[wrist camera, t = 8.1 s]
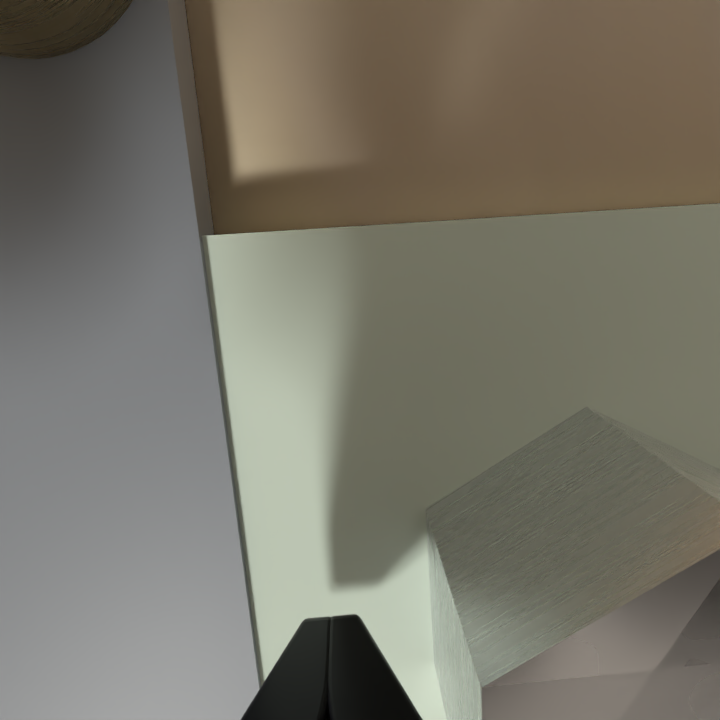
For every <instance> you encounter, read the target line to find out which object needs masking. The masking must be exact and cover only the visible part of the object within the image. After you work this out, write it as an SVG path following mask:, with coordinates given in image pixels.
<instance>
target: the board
mask: <svg viewBox="0 0 720 720" xmlns="http://www.w3.org/2000/svg"><path fill="white" fill-rule="evenodd" d="M207 235H214V229H213V221H212V213H211V205H210V197H209V189H208V181H207V173H206V166H205V158H204V150H203V142H202V134H201V126H200V118H199V110H198V102H197V94H196V86H195V79H194V71H193V63H192V55H191V47H190V39H189V31H188V23H187V15H186V7H185V0H133V1H132V2H131V4H130V6H129V7H128V9H127V10H126V11H125V12H124V14H123V15H122V16H121V17H120V19H119V20H118V21H117V22H116V23H115V24H114V25H113V26H112V27H111V28H110V29H109V30H107V31H106V32H105V33H104V34H103V35H102V36H100V37H99V38H97V39H95V40H94V41H92V42H91V43H89V44H88V45H86V46H83V47H81V48H79V49H77V50H75V51H73V52H69V53H66V54H62V55H59V56H55V57H47V58H39V59H28V58H14V57H8V56H1V55H0V720H241V718H242V716H243V715H244V713H245V712H246V710H247V708H248V707H249V705H250V704H251V702H252V700H253V699H254V697H255V696H256V694H257V692H258V691H259V689H260V688H261V679H260V672H259V664H258V656H257V649H256V641H255V634H254V626H253V619H252V611H251V603H250V596H249V588H248V581H247V573H246V566H245V558H244V550H243V543H242V535H241V528H240V520H239V513H238V505H237V498H236V490H235V482H234V475H233V467H232V460H231V452H230V445H229V437H228V429H227V422H226V414H225V407H224V399H223V392H222V384H221V376H220V369H219V361H218V354H217V346H216V339H215V331H214V323H213V316H212V308H211V301H210V293H209V286H208V278H207V271H206V263H205V255H204V248H203V240H202V236H207Z"/></svg>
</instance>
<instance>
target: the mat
mask: <svg viewBox="0 0 720 720" xmlns="http://www.w3.org/2000/svg"><path fill="white" fill-rule="evenodd" d="M202 240H203V248H204V255H205V263H206V271H207V278H208V286H209V293H210V301H211V308H212V316H213V323H214V331H215V339H216V346H217V354H218V361H219V369H220V376H221V384H222V392H223V399H224V407H225V414H226V422H227V429H228V437H229V445H230V452H231V460H232V467H233V475H234V482H235V490H236V498H237V505H238V513H239V520H240V528H241V535H242V543H243V550H244V558H245V566H246V573H247V581H248V588H249V596H250V603H251V611H252V619H253V626H254V634H255V641H256V649H257V656H258V664H259V672H260V679H261V686H262V685H263V683H264V681H265V680H266V678H267V677H268V675H269V673H270V672H271V670H272V669H273V667H274V665H275V664H276V662H277V661H278V659H279V657H280V656H281V654H282V653H283V651H284V649H285V648H286V646H287V645H288V643H289V641H290V640H291V638H292V637H293V635H294V634H295V632H296V630H297V629H298V627H299V626H300V624H301V622H302V621H303V620H304V619H306V618H314V617H326V616H330V617H332V616H338V615H349V614H357V615H358V616H359V617H360V618H361V619H362V621H363V622H364V624H365V626H366V627H367V629H368V631H369V632H370V634H371V635H372V637H373V639H374V640H375V642H376V644H377V645H378V647H379V649H380V650H381V652H382V654H383V655H384V657H385V659H386V660H387V662H388V663H389V665H390V667H391V668H392V670H393V672H394V673H395V675H396V677H397V678H398V680H399V682H400V683H401V685H402V687H403V688H404V690H405V691H406V693H407V695H408V696H409V698H410V700H411V701H412V703H413V705H414V706H415V708H416V710H417V711H418V713H419V715H420V716H421V718H422V719H423V720H447V719H446V714H445V710H444V705H443V701H442V696H441V692H440V687H439V682H438V678H437V673H436V669H435V664H434V654H433V636H432V618H431V600H430V582H429V565H428V547H427V529H426V511H425V509H426V508H427V507H429V506H430V505H432V504H434V503H435V502H437V501H438V500H440V499H441V498H443V497H445V496H446V495H448V494H449V493H451V492H452V491H454V490H456V489H457V488H459V487H460V486H462V485H464V484H465V483H467V482H468V481H470V480H471V479H473V478H475V477H476V476H478V475H479V474H481V473H482V472H484V471H486V470H487V469H489V468H490V467H492V466H494V465H495V464H497V463H498V462H500V461H501V460H503V459H505V458H506V457H508V456H509V455H511V454H512V453H514V452H516V451H517V450H519V449H520V448H522V447H523V446H525V445H527V444H528V443H530V442H531V441H533V440H535V439H536V438H538V437H539V436H541V435H542V434H544V433H546V432H547V431H549V430H550V429H552V428H553V427H555V426H557V425H558V424H560V423H561V422H563V421H564V420H566V419H568V418H569V417H571V416H572V415H574V414H576V413H577V412H579V411H580V410H582V409H583V408H585V407H588V408H590V409H592V410H595V411H597V412H599V413H601V414H603V415H605V416H607V417H610V418H612V419H614V420H616V421H618V422H620V423H622V424H625V425H627V426H629V427H631V428H633V429H635V430H637V431H640V432H642V433H644V434H646V435H648V436H650V437H652V438H654V439H657V440H659V441H661V442H663V443H665V444H667V445H669V446H672V447H674V448H676V449H678V450H680V451H682V452H684V453H687V454H689V455H691V456H693V457H695V458H697V459H699V460H702V461H704V462H706V463H708V464H710V465H712V466H714V467H717V468H719V469H720V203H716V204H700V205H684V206H668V207H652V208H636V209H620V210H604V211H589V212H573V213H557V214H541V215H525V216H509V217H493V218H477V219H461V220H445V221H429V222H413V223H398V224H382V225H366V226H350V227H334V228H318V229H302V230H286V231H270V232H254V233H238V234H222V235H207V236H202Z"/></svg>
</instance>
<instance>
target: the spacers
mask: <svg viewBox="0 0 720 720" xmlns="http://www.w3.org/2000/svg"><path fill="white" fill-rule="evenodd" d="M132 1H133V0H0V55H1V56H8V57H14V58H28V59H39V58H47V57H55V56H59V55H62V54H66V53H69V52H73V51H75V50H77V49H79V48H81V47H83V46H86V45H88V44H89V43H91V42H92V41H94V40H95V39H97V38H99V37H100V36H102V35H103V34H104V33H105V32H106V31H107V30H109V29H110V28H111V27H112V26H113V25H114V24H115V23H116V22H117V21H118V20H119V19H120V17H121V16H122V15H123V14H124V12H125V11H126V10H127V9H128V7H129V6H130V4H131V2H132Z"/></svg>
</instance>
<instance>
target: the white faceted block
mask: <svg viewBox="0 0 720 720" xmlns="http://www.w3.org/2000/svg"><path fill="white" fill-rule="evenodd" d="M425 511H426V529H427V547H428V565H429V582H430V600H431V618H432V636H433V654H434V664H435V669H436V673H437V678H438V682H439V687H440V692H441V696H442V701H443V705H444V710H445V714H446V719H447V720H720V469H719V468H717V467H714V466H712V465H710V464H708V463H706V462H704V461H702V460H699V459H697V458H695V457H693V456H691V455H689V454H687V453H684V452H682V451H680V450H678V449H676V448H674V447H672V446H669V445H667V444H665V443H663V442H661V441H659V440H657V439H654V438H652V437H650V436H648V435H646V434H644V433H642V432H640V431H637V430H635V429H633V428H631V427H629V426H627V425H625V424H622V423H620V422H618V421H616V420H614V419H612V418H610V417H607V416H605V415H603V414H601V413H599V412H597V411H595V410H592V409H590V408H588V407H585V408H583V409H582V410H580V411H579V412H577V413H576V414H574V415H572V416H571V417H569V418H568V419H566V420H564V421H563V422H561V423H560V424H558V425H557V426H555V427H553V428H552V429H550V430H549V431H547V432H546V433H544V434H542V435H541V436H539V437H538V438H536V439H535V440H533V441H531V442H530V443H528V444H527V445H525V446H523V447H522V448H520V449H519V450H517V451H516V452H514V453H512V454H511V455H509V456H508V457H506V458H505V459H503V460H501V461H500V462H498V463H497V464H495V465H494V466H492V467H490V468H489V469H487V470H486V471H484V472H482V473H481V474H479V475H478V476H476V477H475V478H473V479H471V480H470V481H468V482H467V483H465V484H464V485H462V486H460V487H459V488H457V489H456V490H454V491H452V492H451V493H449V494H448V495H446V496H445V497H443V498H441V499H440V500H438V501H437V502H435V503H434V504H432V505H430V506H429V507H427V508H426V509H425Z"/></svg>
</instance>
